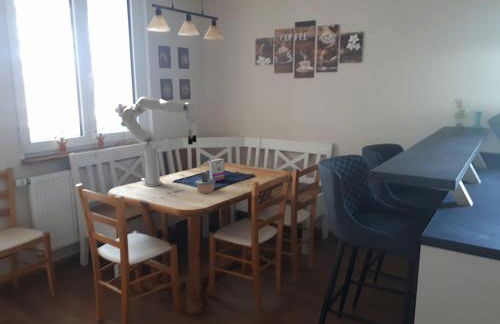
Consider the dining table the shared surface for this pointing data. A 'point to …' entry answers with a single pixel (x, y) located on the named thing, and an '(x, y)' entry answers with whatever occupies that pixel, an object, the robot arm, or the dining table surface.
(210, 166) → the candy bar box
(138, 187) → the dining table surface
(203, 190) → the bowl
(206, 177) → the lid
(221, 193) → the dining table surface
